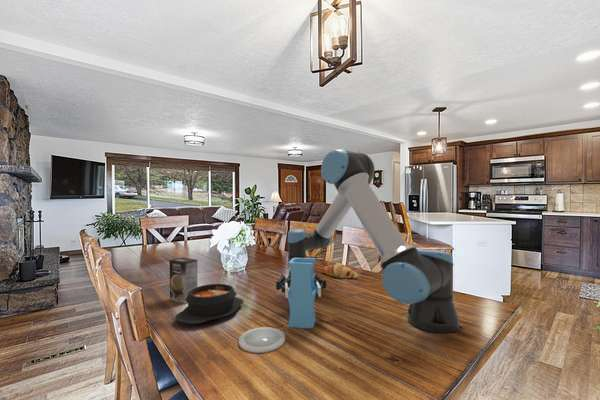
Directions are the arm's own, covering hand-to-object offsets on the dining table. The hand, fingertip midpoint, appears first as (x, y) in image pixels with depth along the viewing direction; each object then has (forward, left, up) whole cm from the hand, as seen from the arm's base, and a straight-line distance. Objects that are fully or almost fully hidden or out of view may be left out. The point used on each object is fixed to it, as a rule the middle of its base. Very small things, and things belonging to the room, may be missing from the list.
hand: (303, 292), depth 87 cm
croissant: (+38, -48, -11) cm, 62 cm away
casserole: (+28, +20, -11) cm, 36 cm away
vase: (+4, -2, -11) cm, 12 cm away
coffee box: (+48, +25, -11) cm, 55 cm away
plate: (+1, +14, -11) cm, 18 cm away
